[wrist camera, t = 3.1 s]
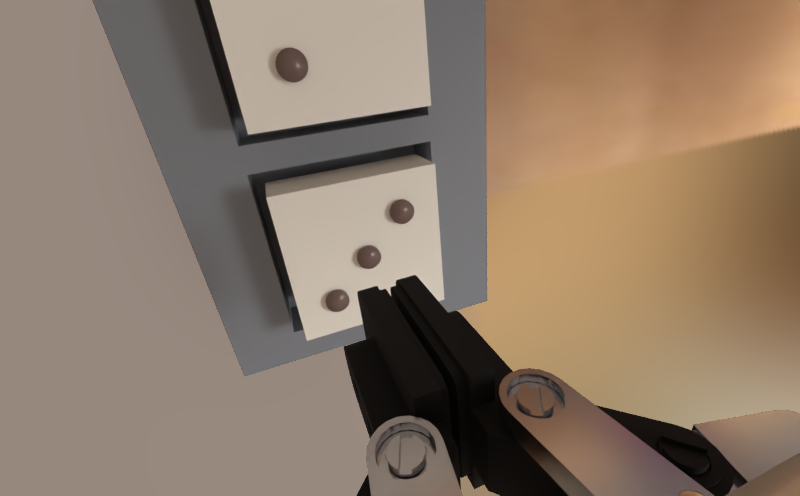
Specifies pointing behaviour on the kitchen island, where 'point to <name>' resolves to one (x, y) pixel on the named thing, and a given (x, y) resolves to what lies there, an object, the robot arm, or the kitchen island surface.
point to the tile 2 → (323, 59)
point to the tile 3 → (356, 236)
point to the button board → (296, 161)
